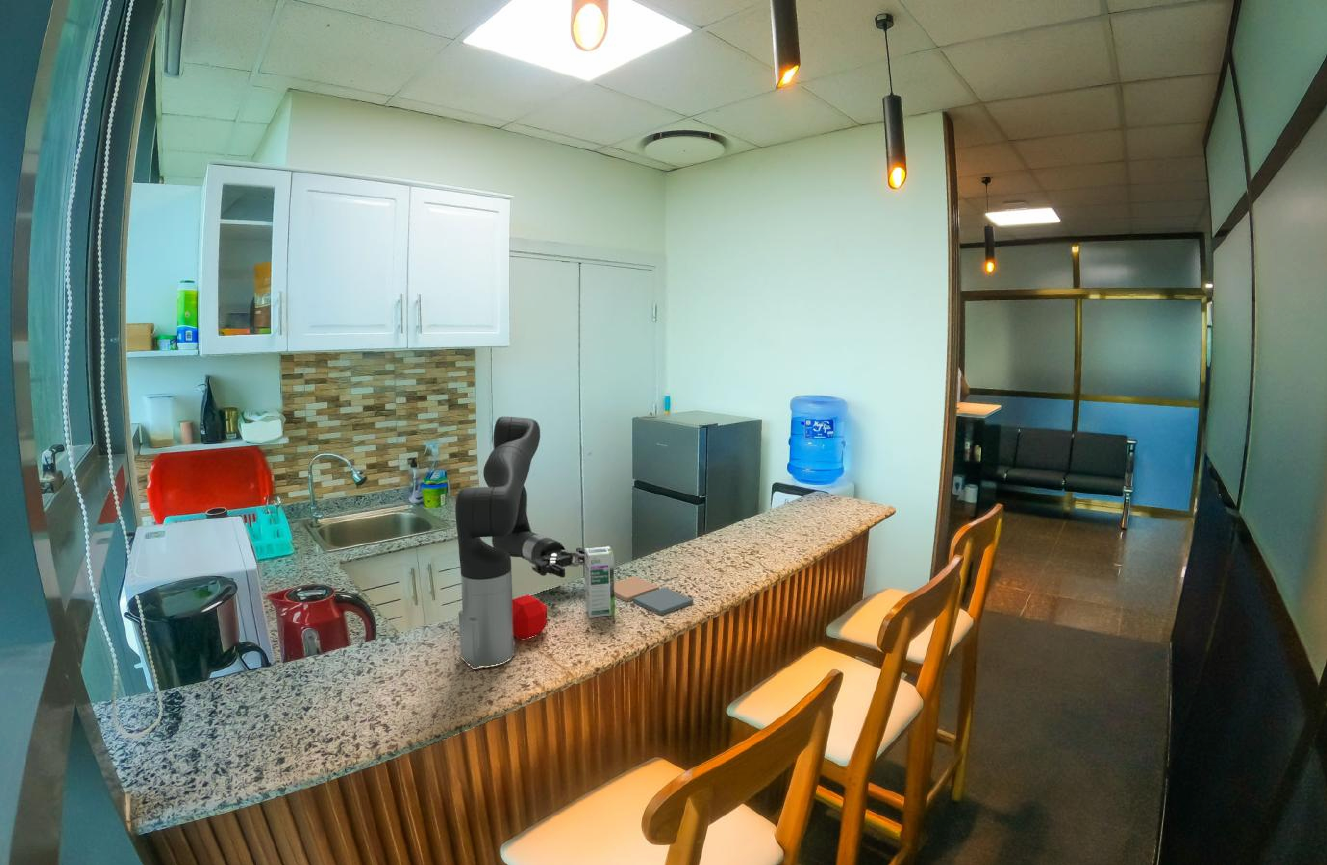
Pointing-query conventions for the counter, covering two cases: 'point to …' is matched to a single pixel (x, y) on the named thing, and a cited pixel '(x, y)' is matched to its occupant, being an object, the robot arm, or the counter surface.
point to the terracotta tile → (632, 588)
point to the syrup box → (599, 581)
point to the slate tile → (663, 601)
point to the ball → (528, 616)
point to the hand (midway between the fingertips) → (579, 568)
